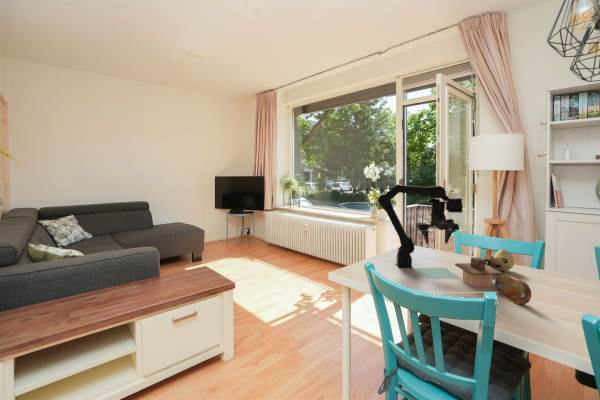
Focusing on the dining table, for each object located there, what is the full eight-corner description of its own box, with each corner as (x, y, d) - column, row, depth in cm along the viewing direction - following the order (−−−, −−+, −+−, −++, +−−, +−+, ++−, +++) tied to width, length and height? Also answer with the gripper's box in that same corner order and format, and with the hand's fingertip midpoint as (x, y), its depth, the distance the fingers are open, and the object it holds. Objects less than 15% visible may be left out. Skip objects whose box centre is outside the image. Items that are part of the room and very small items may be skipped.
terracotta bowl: (471, 288, 127) (472, 274, 126) (457, 278, 138) (458, 265, 137) (497, 288, 127) (498, 274, 126) (482, 278, 138) (482, 265, 137)
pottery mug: (504, 278, 140) (499, 264, 137) (484, 286, 141) (478, 272, 139) (490, 263, 151) (485, 250, 148) (471, 271, 153) (466, 258, 150)
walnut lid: (471, 275, 125) (471, 263, 125) (454, 265, 138) (455, 254, 138) (502, 274, 125) (503, 263, 125) (483, 264, 138) (484, 254, 138)
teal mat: (427, 279, 137) (427, 278, 137) (414, 268, 152) (415, 267, 152) (461, 279, 137) (461, 278, 137) (445, 268, 152) (445, 267, 152)
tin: (493, 291, 124) (495, 271, 123) (501, 291, 124) (502, 270, 123) (523, 308, 109) (525, 285, 108) (532, 307, 109) (533, 285, 108)
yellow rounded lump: (484, 271, 147) (485, 249, 146) (493, 266, 155) (494, 245, 154) (508, 276, 140) (509, 254, 139) (516, 271, 148) (517, 249, 146)
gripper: (425, 214, 139) (424, 248, 141) (466, 214, 139) (464, 247, 141) (415, 211, 150) (414, 242, 152) (453, 210, 150) (452, 242, 152)
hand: (436, 243), depth 149 cm, fingers open, 9 cm apart
